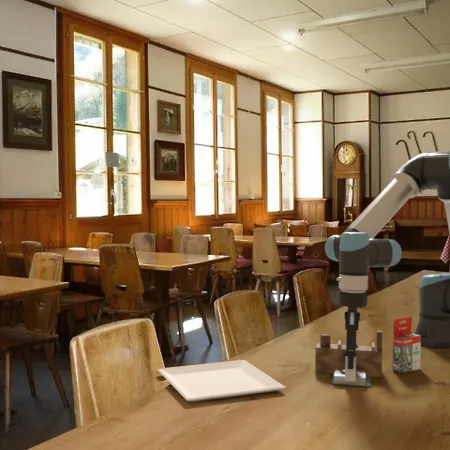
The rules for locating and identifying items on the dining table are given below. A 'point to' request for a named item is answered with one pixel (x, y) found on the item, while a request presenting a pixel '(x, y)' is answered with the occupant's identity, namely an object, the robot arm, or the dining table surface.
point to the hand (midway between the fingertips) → (350, 376)
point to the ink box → (405, 347)
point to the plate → (219, 380)
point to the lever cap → (340, 379)
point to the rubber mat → (367, 384)
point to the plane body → (333, 356)
